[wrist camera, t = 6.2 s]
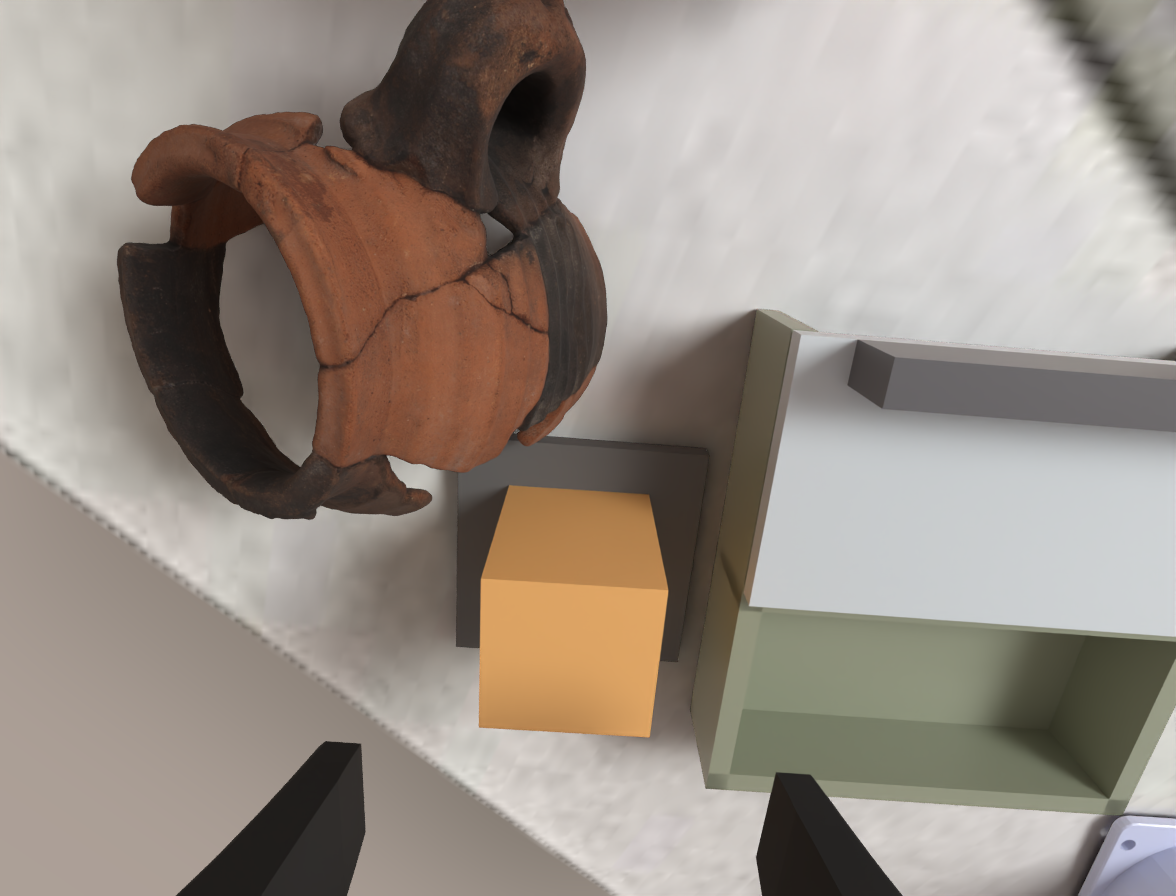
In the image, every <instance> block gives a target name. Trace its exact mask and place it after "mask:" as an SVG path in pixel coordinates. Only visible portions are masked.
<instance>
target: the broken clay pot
mask: <svg viewBox="0 0 1176 896" xmlns="http://www.w3.org/2000/svg"><path fill="white" fill-rule="evenodd" d="M585 76H586V59H585V54H584V51H583V47H582V45H581V43H580V40H579V38H578V36H577V34H576V31H575V29H574V27H573V23H572V20H571V18H570V16H569V13H568V11H567V9H566V8H565V7H564V2H563V0H427V2H426V3H424V5H423V6H422V8H421V9H420V10H419V12H418V13H417V14H416V16H415V17H414V19H413V20H412V22H411V23H410V24H409V26H408V27H407V29H406V31H405V34H404V37H403V39H402V41H401V43H400V46H399V48H398V52H397V55H396V57H395V59H394V61H393V63H392V65H391V66H390V68H389V70H388V72H387V73H386V75H385V77H384V78H383V80H382V82H381V83H380V84H379V85H378V86H377V87H376V88H375V89H373V90H370V91H367V92H365V93H363V94H361V95H359V96H357V97H356V98H354V99H353V100H351V101H350V102H348V103H347V104H346V105H345V106H344V109H343V111H342V113H341V117H340V127H341V130H342V133H343V137H344V139H345V140H346V142H347V143H348V144H349V145H350V146H351V147H352V150H345V149H340V148H338V147H335V146H326V147H325V148H323V147H318V146H316V144H317V142H318V141H319V139H320V138H321V136H322V133H323V126H322V122H321V120H320V118H319V117H318V116H317V115H313V114H311V113H306V112H296V113H295V112H282V113H280V112H277V113H274V114H268V115H266V114H262V115H254V116H252V117H249V118H245V119H243V120H241V121H238V122H236V123H234V124H232V125H231V126H230V127H228V128H227V129H225V130H223V131H222V130H219V129H216V128H212V127H207V126H202V125H196V124H191V125H179V126H178V127H175V128H173V129H171V130H168V131H164V132H163V133H162V134H161V135H160V136H158V137H157V138H154V139H153V140H152V141H151V142H150V143H149V144H148V146H147V147H146V149H145V150H144V151H143V152H142V153H141V155H140V156H139V158H138V159H137V161H136V163H135V165H134V169H133V172H132V177H131V180H132V183H133V185H134V187H135V190H136V195H137V197H138V198H139V199H140V200H141V201H142V202H144V203H146V204H149V205H153V206H172V212H171V227H170V240H169V241H168V242H167V243H164V244H147V243H125V244H124V245H123V246H122V247H121V248H120V249H119V250H118V256H117V266H118V272H119V280H118V281H119V285H120V295H121V300H122V304H123V309H124V316H125V322H126V325H127V329H128V332H129V335H130V338H131V342H132V347H133V350H134V352H135V356H136V359H137V362H138V364H139V367H140V370H141V372H142V374H143V377H144V379H145V381H146V383H147V386H148V388H149V390H150V392H151V393H152V394H153V395H154V397H155V401H156V405H157V407H158V409H159V411H160V414H161V416H162V417H163V419H164V421H165V423H166V425H167V428H168V431H169V432H170V434H171V435H172V436H173V438H174V439H175V440H176V441H177V442H178V444H179V445H180V447H181V448H182V450H183V452H184V454H185V455H186V456H187V458H188V460H189V461H190V462H191V464H192V465H193V466H194V467H195V468H196V469H197V470H198V472H199V473H200V474H201V475H202V476H203V477H204V478H205V480H206V481H207V482H208V483H209V484H210V485H211V487H212V488H214V489H215V490H216V491H217V492H218V493H220V494H222V495H223V496H224V497H225V498H227V499H228V500H229V501H230V502H232V503H233V504H237V505H239V506H240V507H241V508H243V509H245V510H248V511H251V512H253V513H256V514H260V515H263V516H265V517H267V518H270V519H274V518H281V519H301V518H304V519H308V520H311V519H314V518H315V516H316V509H317V508H318V507H319V506H324V507H326V508H330V509H335V510H340V511H343V512H349V513H355V514H386V515H392V516H399V515H403V514H407V513H411V512H414V511H417V510H419V509H421V508H423V507H425V506H426V505H428V504H429V503H430V502H431V500H432V495H431V494H430V493H429V492H428V491H426V490H422V489H414V488H406V485H405V484H404V483H403V482H402V481H400V480H399V479H398V477H397V476H396V475H395V473H394V472H393V471H392V469H391V466H390V462H389V461H388V458H387V456H386V455H390V456H394V457H397V458H399V459H401V460H404V461H406V462H408V463H411V464H424V465H426V466H428V467H430V468H434V469H440V470H450V471H454V472H459V473H465V472H469V471H470V470H471V469H473V468H474V467H476V466H478V465H481V464H484V463H486V462H488V461H489V460H492V459H494V458H496V457H497V456H499V455H500V453H501V452H502V450H503V449H504V447H505V445H506V444H507V442H508V440H509V438H510V436H511V435H512V433H513V432H514V431H515V430H516V429H519V430H520V431H519V432H518V434H517V439H518V440H519V442H520V443H521V444H522V445H524V446H531V445H533V444H534V443H536V442H538V441H539V440H541V439H542V438H544V437H545V436H546V435H548V434H549V433H550V432H551V431H552V430H553V429H554V428H555V427H556V426H557V425H558V424H559V423H560V422H561V420H562V419H563V417H564V415H565V413H566V412H567V411H568V410H569V409H570V408H571V407H572V406H573V405H574V404H575V403H576V402H577V400H578V399H579V398H580V397H581V395H582V394H583V392H584V391H585V389H586V388H587V386H588V384H589V382H590V380H591V378H592V376H593V374H594V372H595V370H596V366H597V364H598V362H599V360H600V358H601V354H602V350H603V346H604V339H605V333H606V327H607V303H606V288H605V282H604V276H603V271H602V268H601V265H600V262H599V259H598V257H597V255H596V253H595V251H594V249H593V246H592V244H591V241H590V239H589V237H588V235H587V233H586V231H585V229H584V228H583V226H582V224H581V223H580V221H579V219H578V217H577V216H575V215H574V214H573V213H571V212H570V211H569V210H568V209H567V207H566V206H565V205H564V204H562V202H561V200H560V199H558V198H557V197H558V194H559V190H560V183H559V173H560V164H561V160H562V155H563V150H564V146H565V142H566V138H567V135H568V134H569V132H570V130H571V128H572V126H573V123H574V120H575V117H576V114H577V111H578V108H579V105H580V102H581V99H582V95H583V90H584V84H585ZM481 213H488V214H489V215H490V216H491V217H492V218H494V219H495V220H497V221H498V222H499V223H501V224H502V225H503V226H505V227H506V228H507V229H509V230H510V231H511V232H512V233H513V235H514V238H513V240H512V241H511V242H510V243H509V244H508V245H507V246H506V247H504V248H502V249H501V250H499V251H498V252H497V253H495V254H494V255H491V256H489V255H488V253H487V249H486V242H487V241H486V229H485V226H484V224H483V222H482V221H481V217H480V214H481ZM263 223H265V225H266V227H267V229H268V231H269V232H270V234H271V236H272V237H273V239H274V241H275V243H276V244H277V246H278V248H279V250H280V252H281V254H282V256H283V258H284V260H285V262H286V264H287V267H288V268H289V270H290V272H291V275H292V277H293V279H294V282H295V284H296V287H297V289H298V292H299V295H300V298H301V301H302V304H303V307H304V310H305V313H306V315H307V317H308V322H309V326H310V332H311V337H312V342H313V346H314V350H315V354H316V358H317V360H318V362H319V364H320V368H319V372H318V394H319V400H318V409H317V420H316V427H315V434H314V437H313V441H312V447H313V450H312V453H311V455H310V456H309V457H308V458H307V459H306V460H305V461H304V463H303V464H302V466H301V467H299V466H298V465H296V464H295V463H294V462H292V461H291V460H290V459H289V458H288V457H287V456H285V455H284V454H283V453H281V452H280V451H279V450H278V449H277V447H276V445H275V444H274V442H273V441H272V439H271V438H270V437H269V435H268V433H267V431H266V430H265V428H264V427H263V425H262V424H261V423H260V422H259V420H258V419H257V418H256V417H255V416H254V414H253V413H252V412H251V411H250V410H249V409H248V408H247V407H246V406H245V405H244V404H243V403H242V402H241V400H240V398H241V397H242V395H243V393H244V392H243V387H242V383H241V381H240V378H239V374H238V372H237V370H236V368H235V366H234V363H233V361H232V359H231V356H230V354H229V351H228V348H227V346H226V343H225V340H224V335H223V332H222V329H221V326H220V320H219V313H220V308H219V296H220V287H221V280H222V274H223V262H224V258H225V252H226V242H227V241H228V240H230V239H231V238H233V237H235V236H237V235H239V234H242V233H245V232H247V231H248V230H250V229H252V228H254V227H256V226H258V225H260V224H263Z"/></svg>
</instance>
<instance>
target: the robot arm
mask: <svg viewBox="0 0 1176 896" xmlns="http://www.w3.org/2000/svg"><path fill="white" fill-rule="evenodd" d="M364 835H365V813H364V793H363V773H362V753H361V744H357V743H343V742H327V741H326V742H324V743H323V744H322V745H320V746H319V747H318V748H317V750H316V751H315V752H314V753H313V754H312V755H311V756H310V757H309V759H308V760H307V761H306V762H305V763H304V764H303V765H302V766H301V768H300V769H299V770H298V771H297V772H296V773H295V774H294V775H293V776H292V778H291V779H290V780H289V781H288V782H287V783H286V784H285V785H284V786H283V788H282V789H281V790H280V791H279V792H278V793H277V794H276V795H275V796H274V797H273V798H272V799H271V801H270V802H269V803H268V804H267V805H266V806H265V807H264V808H263V809H262V810H261V811H260V813H258V815H257V816H256V817H255V818H254V819H253V820H252V821H251V822H250V823H249V824H248V825H247V826H246V827H245V828H244V829H243V830H242V831H241V832H240V833H239V834H238V835H237V836H236V837H235V838H234V839H233V840H232V842H230V844H228V846H227V847H226V848H225V849H224V850H223V851H222V852H221V853H220V854H219V855H218V856H217V857H216V858H215V859H214V860H213V861H212V862H211V863H210V864H209V865H208V866H206V867H205V868H204V869H203V870H202V871H201V872H200V873H199V874H198V875H197V876H196V877H195V878H194V879H193V880H192V881H191V882H190V883H189V884H188V885H187V886H186V887H185V888H184V889H182V890H181V891H180V892H179V893H178V894H177V895H176V896H347V893H348V890H349V886H350V883H351V880H352V877H353V874H354V870H355V867H356V863H357V860H358V856H359V853H360V849H361V846H362V842H363V839H364ZM756 860H757V866H758V873H759V879H760V885H761V891H762V896H902V894H901V893H900V892H899V891H898V889H897V888H896V887H895V886H894V884H893V883H892V882H891V881H890V879H889V878H888V877H887V875H886V874H885V873H884V872H883V870H882V869H881V868H880V867H879V865H878V864H877V863H876V861H875V860H874V859H873V857H872V856H871V855H870V853H869V852H868V851H867V850H866V848H865V847H864V846H863V844H862V843H861V842H860V840H859V839H858V837H857V836H856V835H855V833H854V832H853V831H852V829H851V828H850V827H849V825H848V824H847V823H846V821H845V820H844V819H843V817H842V816H841V815H840V813H839V812H838V810H837V809H836V808H835V806H834V805H833V804H832V802H831V801H830V799H829V798H828V797H827V795H826V794H825V793H824V791H823V790H822V789H821V787H820V786H819V784H818V783H817V782H816V780H815V779H814V778H813V777H812V776H811V774H796V773H781V772H776V774H775V778H774V782H773V787H772V791H771V795H770V800H769V804H768V808H767V813H766V817H765V821H764V825H763V830H762V834H761V838H760V843H759V847H758V851H757V856H756ZM1078 896H1176V819H1174V818H1158V817H1143V816H1123V817H1120V818H1118V819H1117V820H1115V821H1114V822H1113V824H1112V826H1111V828H1110V830H1109V832H1108V834H1107V836H1106V838H1105V840H1104V842H1103V844H1102V846H1101V848H1100V851H1099V853H1098V855H1097V857H1096V859H1095V861H1094V863H1093V865H1092V867H1091V869H1090V871H1089V873H1088V875H1087V878H1086V880H1085V882H1084V884H1083V886H1082V888H1081V890H1080V892H1079V894H1078Z"/></svg>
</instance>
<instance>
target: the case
mask: <svg viewBox="0 0 1176 896" xmlns="http://www.w3.org/2000/svg"><path fill="white" fill-rule="evenodd" d="M793 330H800V331H813V332H818V331H817V330H815V329H813V328H811V327H809V326H807V325H805V324H804V323H802V322H800V321H798V320H796V319H794V318H792V317H790V316H788V315H786V314H784V313H782V312H781V311H776V310H764V309H757V311H756V317H755V323H754V329H753V335H752V341H751V347H750V353H749V359H748V365H747V371H746V377H745V383H744V389H743V395H742V401H741V407H740V413H739V419H738V425H737V431H736V437H735V443H734V449H733V455H732V461H731V467H730V473H729V479H728V485H727V491H726V497H725V503H724V509H723V515H722V521H721V527H720V533H719V539H718V545H717V551H716V557H715V563H714V569H713V575H712V581H711V587H710V593H709V599H708V605H707V611H706V617H705V623H704V629H703V635H702V641H701V647H700V653H699V659H698V665H697V671H696V677H695V683H694V689H693V695H692V701H691V707H690V712H691V717H692V722H693V727H694V732H695V737H696V742H697V747H698V752H699V757H700V762H701V767H702V772H703V777H704V782H705V787H706V789H720V790H735V791H750V792H766V793H771V791H772V787H773V782H774V778H775V774H776V772H781V773H796V774H811V776H812V777H813V778H814V779H815V780H816V782H817V783H818V784H819V786H820V787H821V789H822V790H823V791H824V793H825V794H826V795H827V797H842V798H857V799H873V800H888V801H903V802H918V803H934V804H949V805H964V806H980V807H995V808H1010V809H1025V810H1041V811H1056V812H1071V813H1087V814H1102V815H1117V816H1122V815H1123V813H1124V811H1125V809H1126V807H1127V805H1128V803H1129V800H1130V798H1131V796H1132V794H1133V792H1134V790H1135V788H1136V786H1137V784H1138V782H1139V780H1140V778H1141V776H1142V774H1143V772H1144V770H1145V768H1146V765H1147V763H1148V761H1149V759H1150V757H1151V755H1152V753H1153V751H1154V749H1155V747H1156V745H1157V743H1158V741H1159V739H1160V737H1161V735H1162V733H1163V731H1164V728H1165V726H1166V724H1167V722H1168V720H1169V718H1170V716H1171V714H1172V712H1173V710H1174V708H1175V706H1176V637H1172V636H1158V635H1144V634H1130V633H1116V632H1102V631H1088V630H1074V629H1060V628H1046V627H1032V626H1019V625H1005V624H991V623H977V622H963V621H949V620H935V619H921V618H907V617H893V616H879V615H865V614H851V613H837V612H824V611H810V610H796V609H782V608H768V607H754V606H749V605H748V602H747V600H746V597H745V595H744V588H745V583H746V577H747V572H748V567H749V561H750V556H751V551H752V545H753V540H754V535H755V529H756V524H757V519H758V513H759V508H760V503H761V497H762V492H763V487H764V481H765V476H766V471H767V465H768V460H769V455H770V449H771V444H772V439H773V433H774V428H775V423H776V418H777V412H778V407H779V402H780V396H781V391H782V386H783V380H784V375H785V370H786V364H787V359H788V354H789V348H790V343H791V338H792V332H793Z"/></svg>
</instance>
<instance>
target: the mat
mask: <svg viewBox="0 0 1176 896" xmlns="http://www.w3.org/2000/svg"><path fill="white" fill-rule="evenodd" d="M708 461H709V454H708V452H707V450H706V448H693V447H680V446H667V445H654V444H641V443H628V442H615V441H602V440H589V439H576V438H563V437H550V436H545V437H544V438H542V439H541V440H539V441H538V442H536V443H534V444H533V445H531V446H524V445H522V444H521V443H520V442H519V440H518V439H517V434H512V435H511V436H510V438H509V440H508V442H507V444H506V445H505V447H504V449H503V450H502V452H501V453H500V455H499V456H497V457H496V458H494V459H492V460H489V461H488V462H486V463H484V464H481V465H478V466H476V467H474V468H473V469H471V470H470V471H469V472H465V473H459V472H458V533H457V616H456V647H469V648H480V610H481V577H482V573H483V570H484V567H485V564H486V560H487V557H488V554H489V550H490V547H491V544H492V540H493V537H494V534H495V531H496V527H497V524H498V521H499V517H500V514H501V511H502V507H503V504H504V501H505V497H506V494H507V491H508V488H509V485H512V486H527V487H542V488H558V489H573V490H588V491H604V492H619V493H634V494H649V497H650V502H651V507H652V512H653V517H654V522H655V526H656V531H657V536H658V541H659V546H660V551H661V556H662V561H663V566H664V571H665V576H666V581H667V585H668V598H667V606H666V614H665V621H664V629H663V637H662V645H661V652H660V660H659V661H670V662H678V656H679V649H680V643H681V636H682V630H683V623H684V617H685V610H686V604H687V597H688V591H689V584H690V578H691V571H692V565H693V558H694V552H695V545H696V539H697V532H698V526H699V519H700V513H701V506H702V500H703V493H704V487H705V480H706V474H707V467H708Z"/></svg>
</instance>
